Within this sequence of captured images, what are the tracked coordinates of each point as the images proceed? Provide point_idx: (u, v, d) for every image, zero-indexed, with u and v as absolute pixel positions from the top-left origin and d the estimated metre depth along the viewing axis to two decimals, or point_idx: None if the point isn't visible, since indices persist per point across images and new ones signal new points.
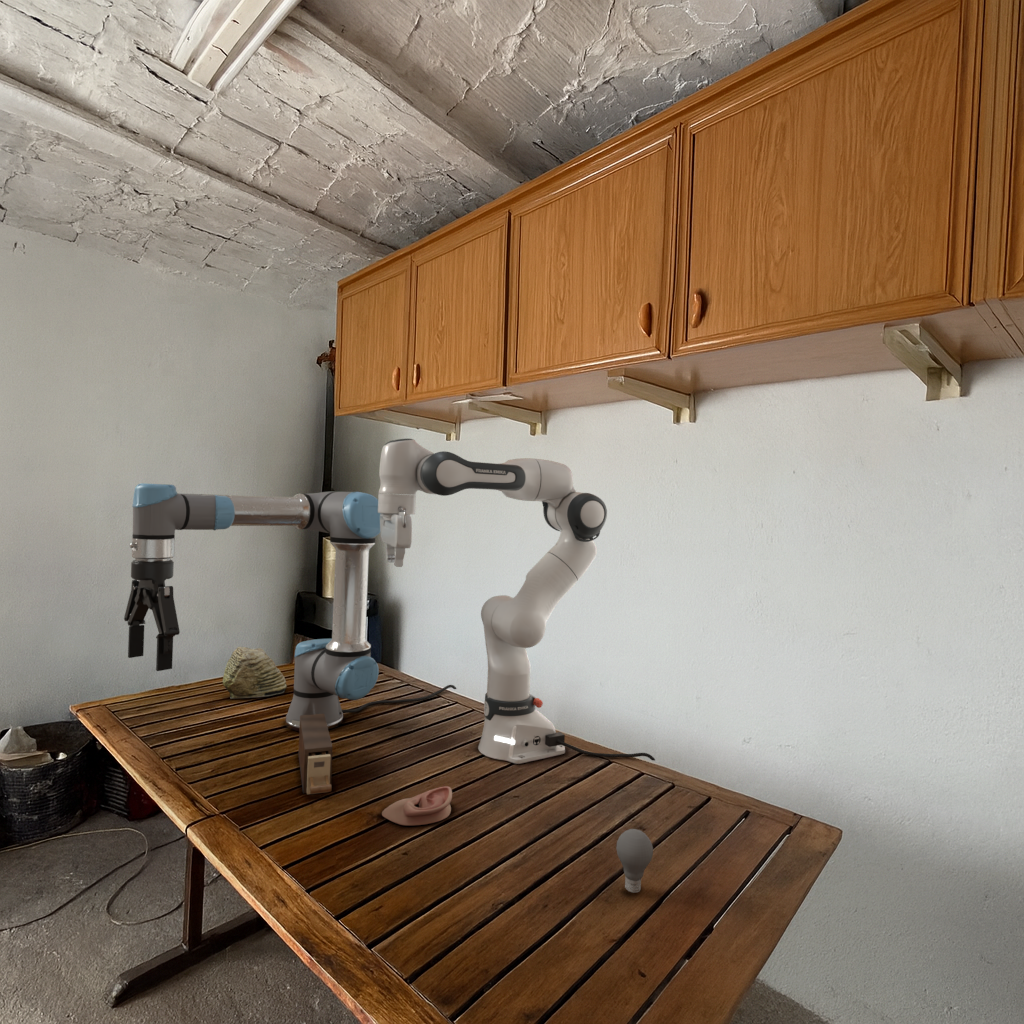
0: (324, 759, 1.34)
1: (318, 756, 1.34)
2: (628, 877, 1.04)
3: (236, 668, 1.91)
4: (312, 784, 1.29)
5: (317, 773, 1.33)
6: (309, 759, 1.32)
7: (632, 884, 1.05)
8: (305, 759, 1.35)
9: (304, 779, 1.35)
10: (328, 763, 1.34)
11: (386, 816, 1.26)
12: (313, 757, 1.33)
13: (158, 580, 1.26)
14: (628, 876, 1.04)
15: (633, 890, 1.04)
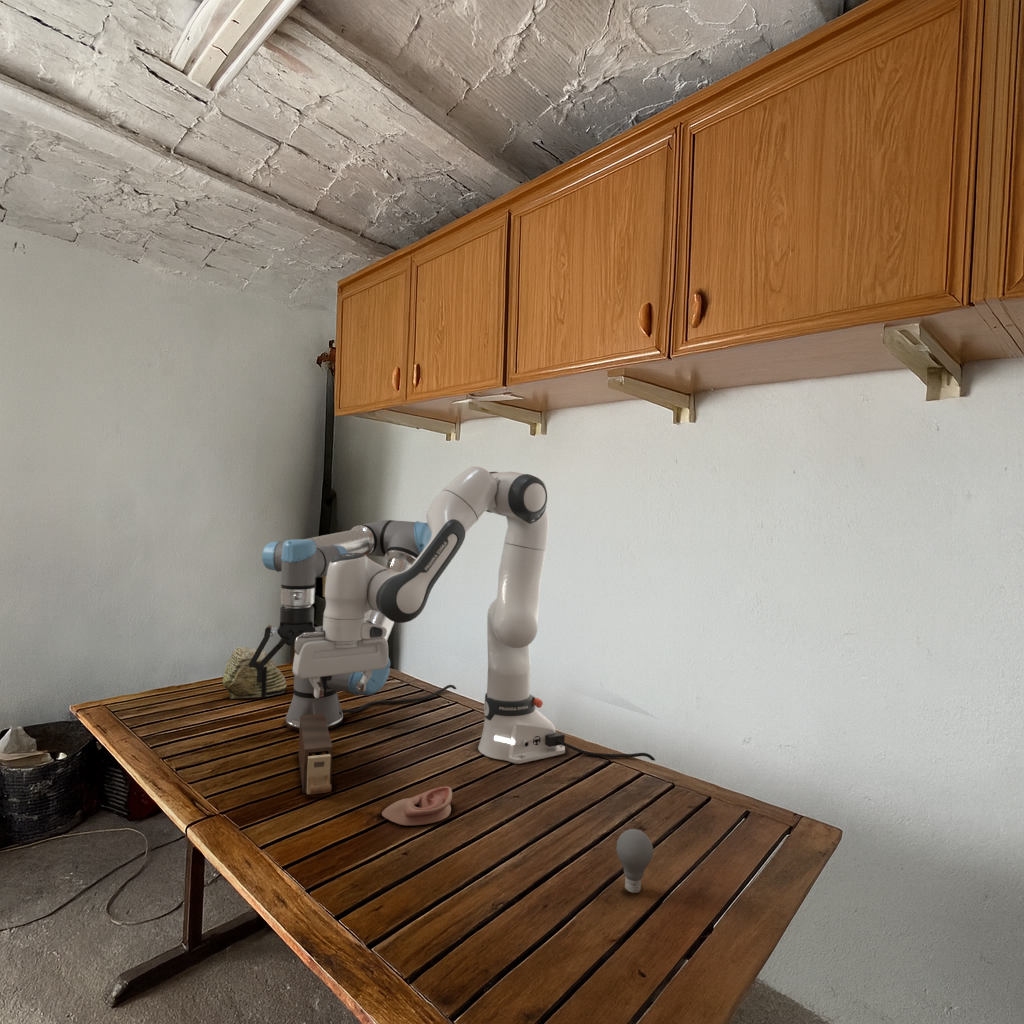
0: (324, 759, 1.34)
1: (318, 756, 1.34)
2: (628, 877, 1.04)
3: (236, 668, 1.91)
4: (312, 784, 1.29)
5: (317, 773, 1.33)
6: (309, 759, 1.32)
7: (632, 884, 1.05)
8: (305, 759, 1.35)
9: (304, 779, 1.35)
10: (328, 763, 1.34)
11: (386, 816, 1.26)
12: (313, 757, 1.33)
13: (313, 622, 1.49)
14: (628, 876, 1.04)
15: (633, 890, 1.04)
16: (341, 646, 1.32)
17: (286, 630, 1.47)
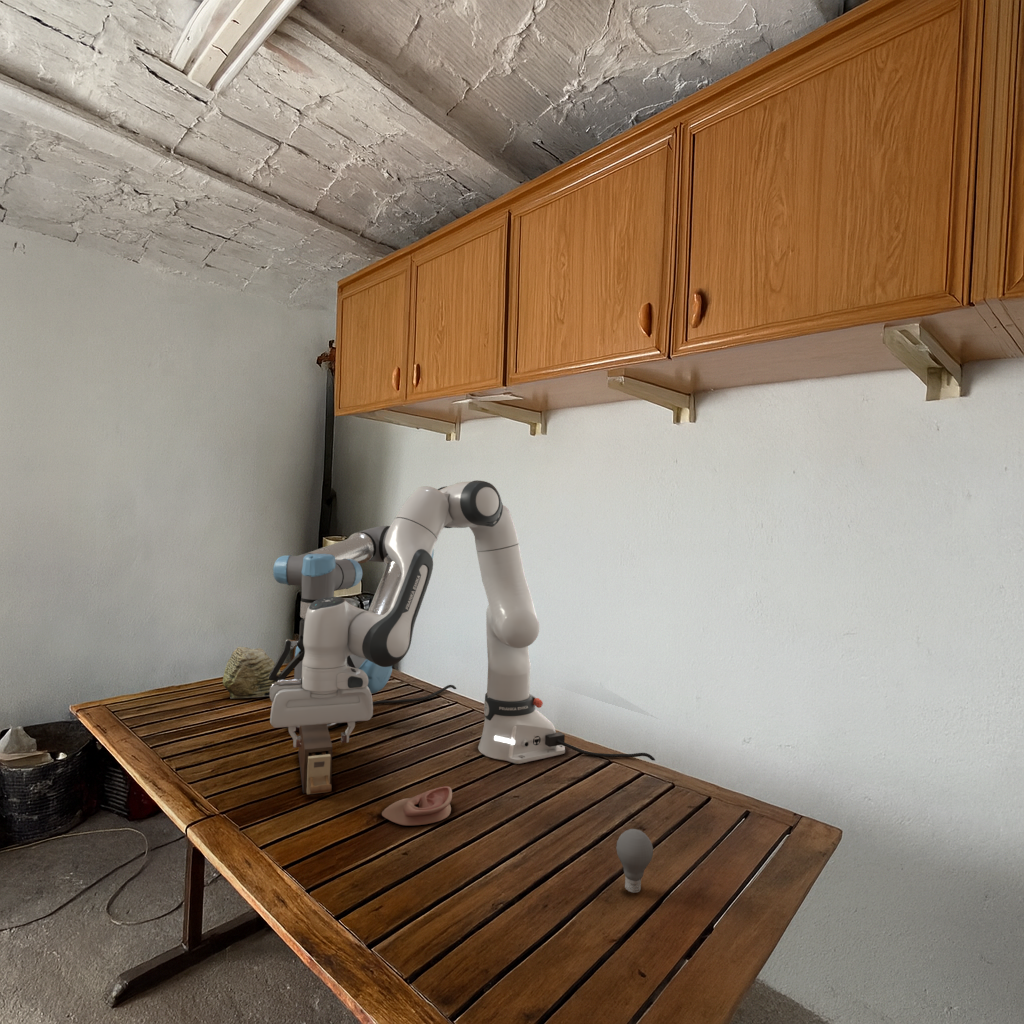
0: (324, 759, 1.34)
1: (318, 756, 1.34)
2: (628, 877, 1.04)
3: (236, 668, 1.91)
4: (312, 784, 1.29)
5: (317, 773, 1.33)
6: (309, 759, 1.32)
7: (632, 884, 1.05)
8: (305, 759, 1.35)
9: (304, 779, 1.35)
10: (328, 763, 1.34)
11: (386, 816, 1.26)
12: (313, 757, 1.33)
13: None
14: (628, 876, 1.04)
15: (633, 890, 1.04)
16: (316, 696, 1.27)
17: None
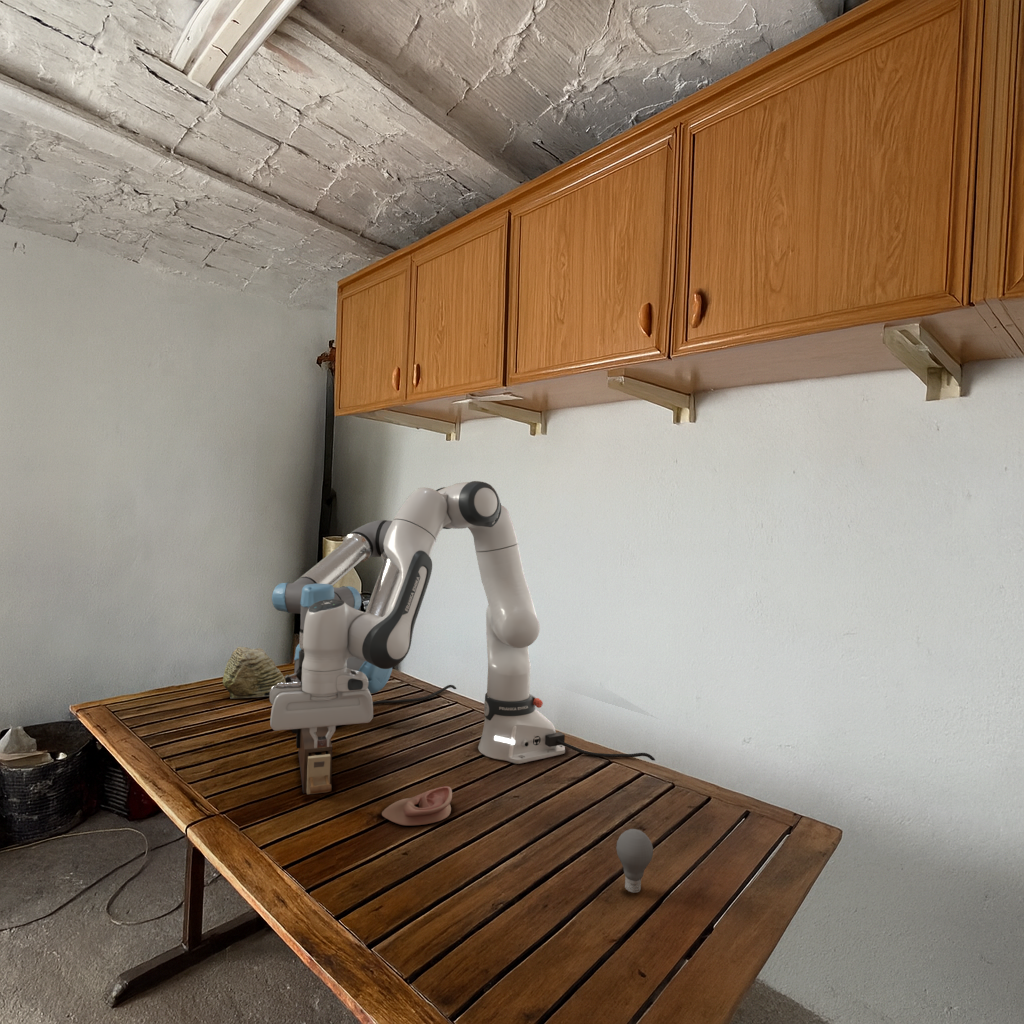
0: (324, 759, 1.34)
1: (318, 756, 1.34)
2: (628, 877, 1.04)
3: (236, 668, 1.91)
4: (312, 784, 1.29)
5: (317, 773, 1.33)
6: (309, 759, 1.32)
7: (632, 884, 1.05)
8: (305, 759, 1.35)
9: (304, 779, 1.35)
10: (328, 763, 1.34)
11: (386, 816, 1.26)
12: (313, 757, 1.33)
13: None
14: (628, 876, 1.04)
15: (633, 890, 1.04)
16: (316, 698, 1.27)
17: None
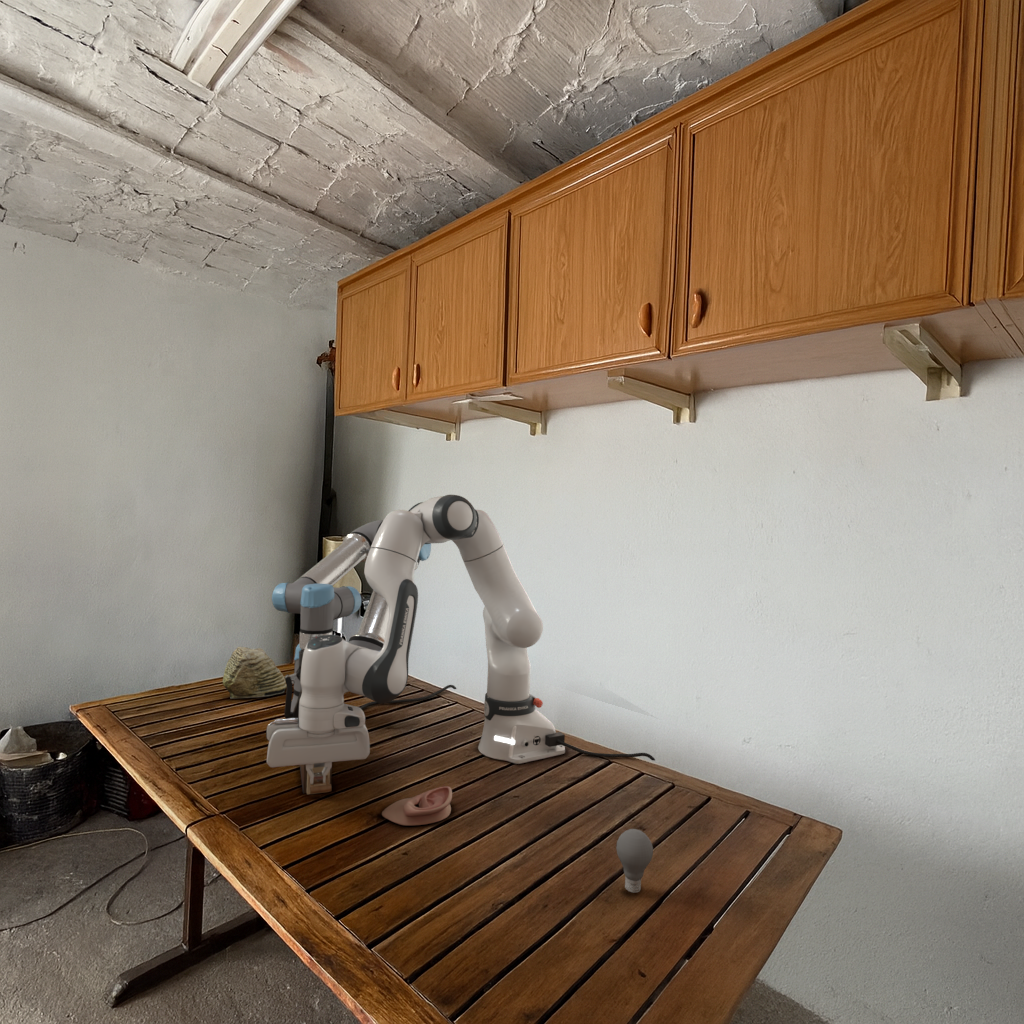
0: None
1: None
2: (628, 877, 1.04)
3: (236, 668, 1.91)
4: None
5: None
6: None
7: (632, 884, 1.05)
8: None
9: (304, 779, 1.35)
10: None
11: (386, 816, 1.26)
12: None
13: None
14: (628, 876, 1.04)
15: (633, 890, 1.04)
16: (313, 735, 1.27)
17: None
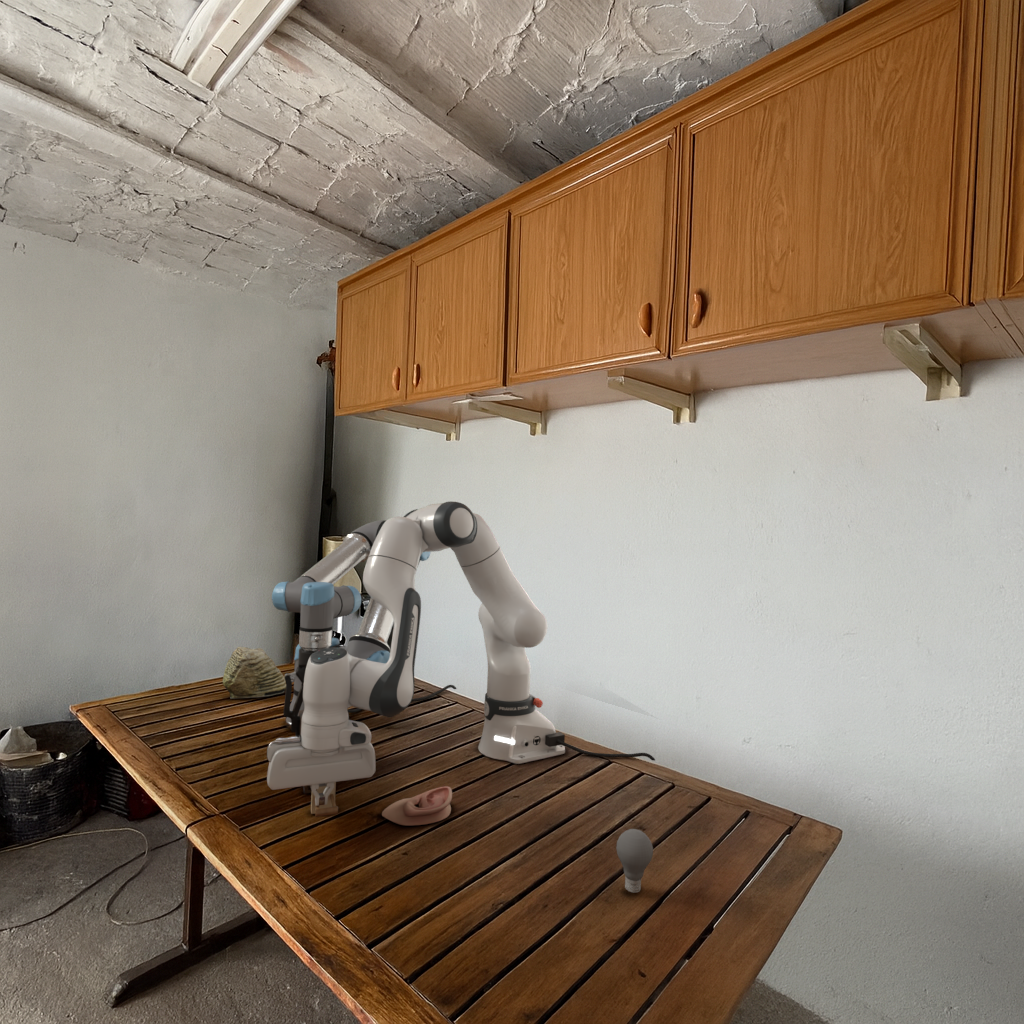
0: None
1: None
2: (628, 877, 1.04)
3: (236, 668, 1.91)
4: (317, 806, 1.23)
5: (322, 792, 1.26)
6: None
7: (632, 884, 1.05)
8: None
9: None
10: (334, 782, 1.27)
11: (386, 816, 1.26)
12: None
13: None
14: (628, 876, 1.04)
15: (633, 890, 1.04)
16: (317, 754, 1.20)
17: None
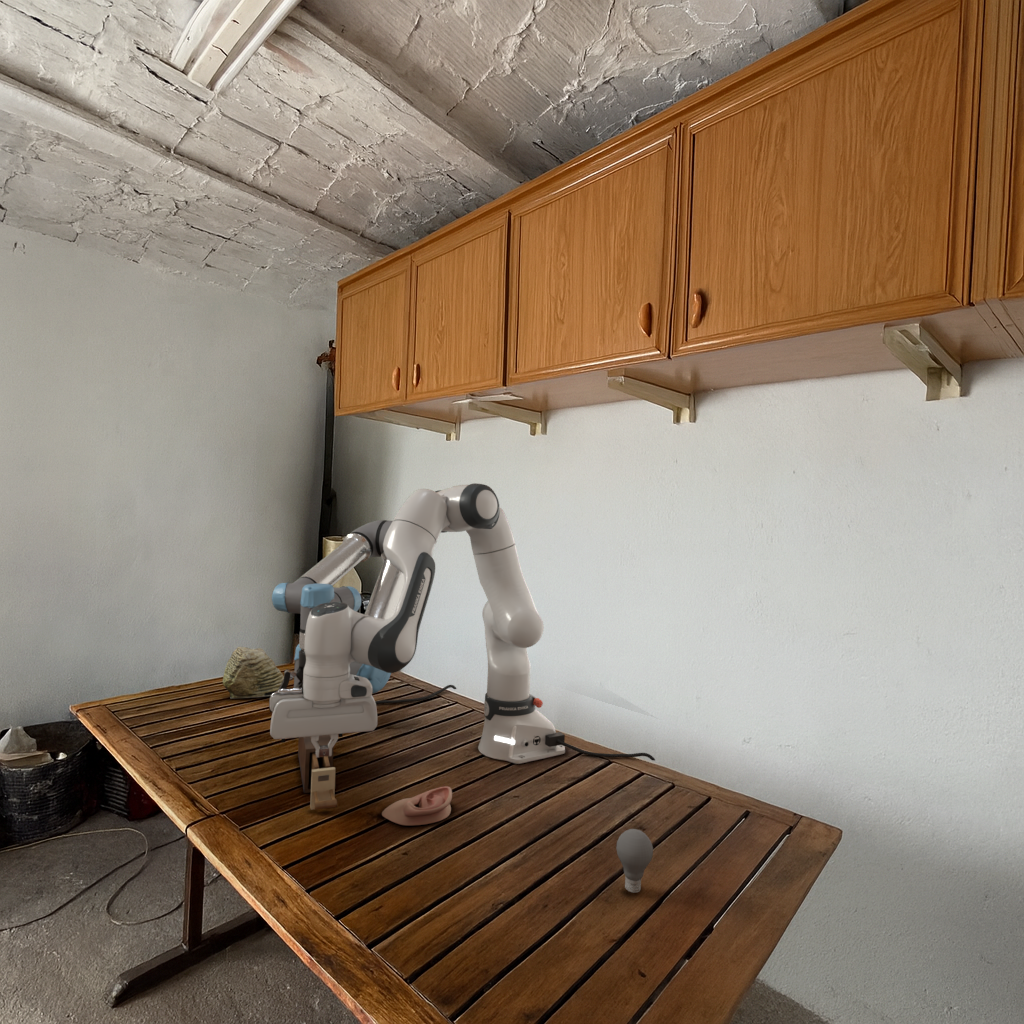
0: (329, 772, 1.27)
1: (322, 769, 1.27)
2: (628, 877, 1.04)
3: (236, 668, 1.91)
4: (316, 799, 1.23)
5: (321, 787, 1.27)
6: (313, 773, 1.26)
7: (632, 884, 1.05)
8: (306, 759, 1.35)
9: (305, 779, 1.35)
10: (333, 776, 1.28)
11: (386, 816, 1.26)
12: (317, 770, 1.27)
13: None
14: (628, 876, 1.04)
15: (633, 890, 1.04)
16: (318, 705, 1.21)
17: None
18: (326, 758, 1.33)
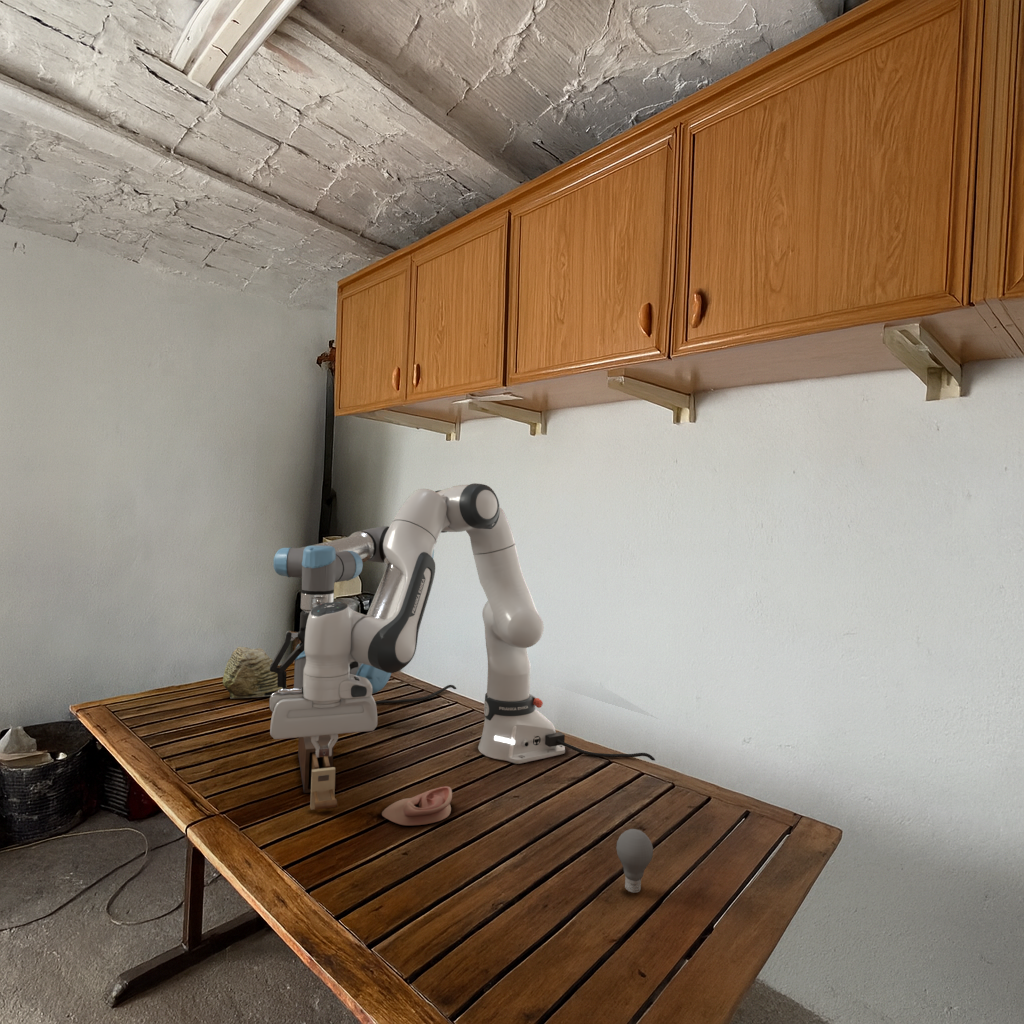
0: (329, 772, 1.27)
1: (322, 769, 1.27)
2: (628, 877, 1.04)
3: (236, 668, 1.91)
4: (316, 799, 1.23)
5: (321, 787, 1.27)
6: (313, 773, 1.26)
7: (632, 884, 1.05)
8: (306, 759, 1.35)
9: (305, 779, 1.35)
10: (333, 776, 1.28)
11: (386, 816, 1.26)
12: (317, 770, 1.27)
13: None
14: (628, 876, 1.04)
15: (633, 890, 1.04)
16: (318, 705, 1.21)
17: None
18: (326, 758, 1.33)
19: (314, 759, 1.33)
